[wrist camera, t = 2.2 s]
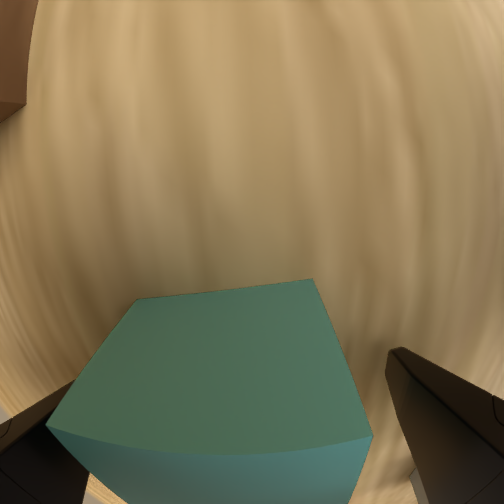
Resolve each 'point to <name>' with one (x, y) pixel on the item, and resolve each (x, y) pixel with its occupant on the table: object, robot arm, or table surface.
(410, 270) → the table surface
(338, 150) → the table surface
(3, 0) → the walnut block
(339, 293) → the table surface
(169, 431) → the teal block
